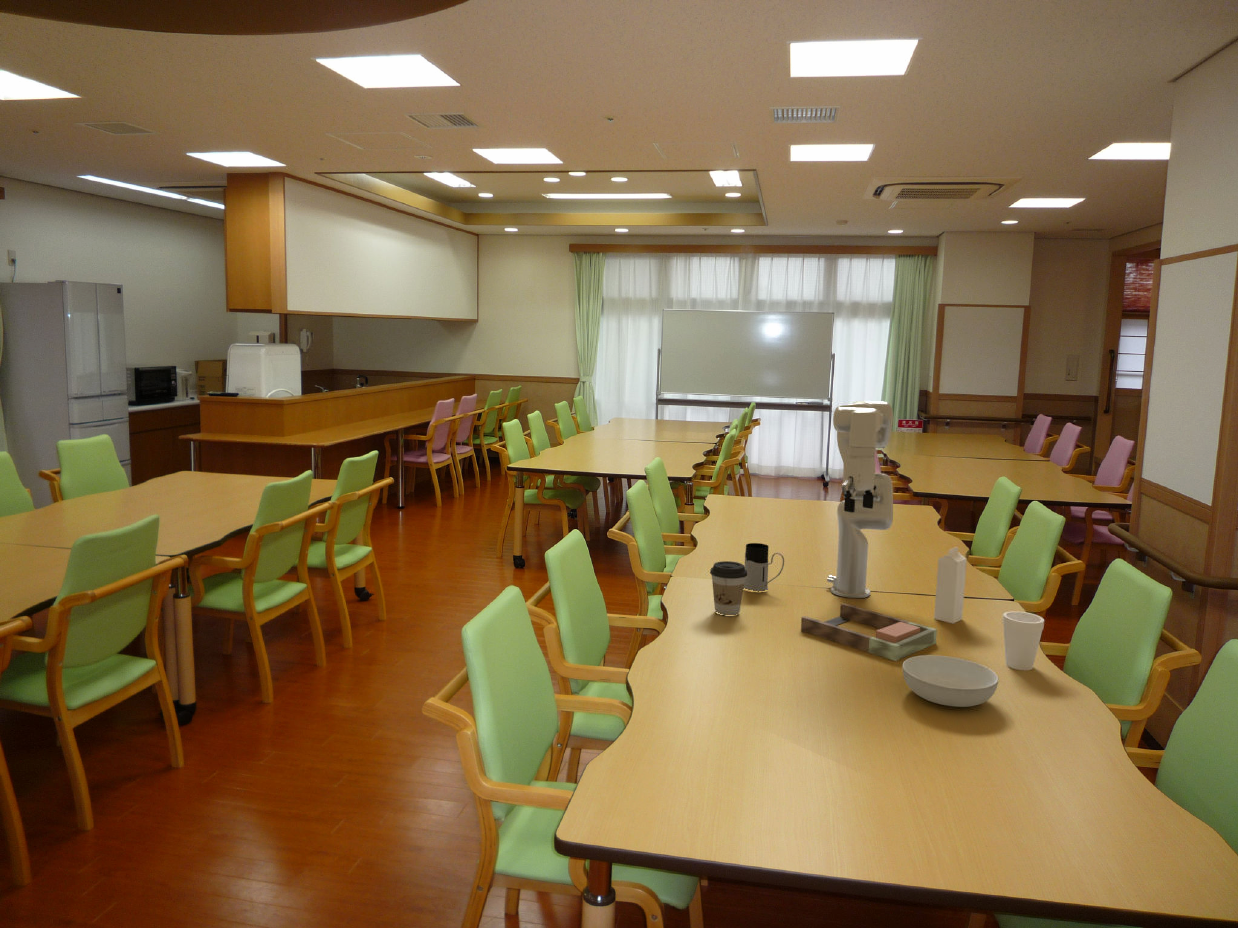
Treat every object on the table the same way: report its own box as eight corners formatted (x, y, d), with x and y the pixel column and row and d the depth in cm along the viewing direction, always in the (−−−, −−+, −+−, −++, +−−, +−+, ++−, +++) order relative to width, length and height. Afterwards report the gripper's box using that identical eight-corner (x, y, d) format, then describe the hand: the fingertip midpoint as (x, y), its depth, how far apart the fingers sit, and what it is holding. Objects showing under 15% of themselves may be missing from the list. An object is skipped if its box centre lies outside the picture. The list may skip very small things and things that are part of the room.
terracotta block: (875, 648, 225) (876, 630, 224) (899, 638, 233) (900, 621, 232) (894, 654, 221) (895, 636, 220) (919, 644, 228) (920, 627, 227)
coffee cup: (704, 615, 249) (705, 567, 247) (714, 605, 260) (715, 558, 257) (741, 620, 245) (742, 571, 243) (749, 609, 255) (751, 562, 253)
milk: (962, 619, 249) (968, 548, 246) (952, 624, 245) (959, 551, 242) (942, 614, 254) (948, 544, 251) (933, 618, 250) (939, 547, 247)
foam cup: (1039, 662, 216) (1043, 614, 214) (1040, 675, 207) (1045, 625, 206) (999, 656, 220) (1003, 609, 218) (998, 668, 211) (1003, 619, 210)
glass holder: (749, 583, 283) (751, 541, 281) (788, 591, 275) (790, 547, 273) (737, 589, 276) (739, 546, 274) (776, 597, 268) (778, 552, 266)
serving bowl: (1009, 698, 193) (1011, 670, 192) (976, 727, 178) (978, 697, 177) (922, 673, 207) (924, 647, 206) (885, 698, 192) (886, 670, 191)
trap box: (800, 630, 237) (801, 617, 237) (842, 615, 251) (843, 603, 251) (895, 661, 215) (896, 646, 215) (935, 643, 229) (936, 629, 228)
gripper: (866, 449, 251) (863, 504, 253) (833, 453, 239) (830, 511, 242) (889, 451, 245) (885, 508, 247) (856, 456, 234) (853, 515, 236)
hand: (858, 509), depth 245 cm, fingers open, 9 cm apart
